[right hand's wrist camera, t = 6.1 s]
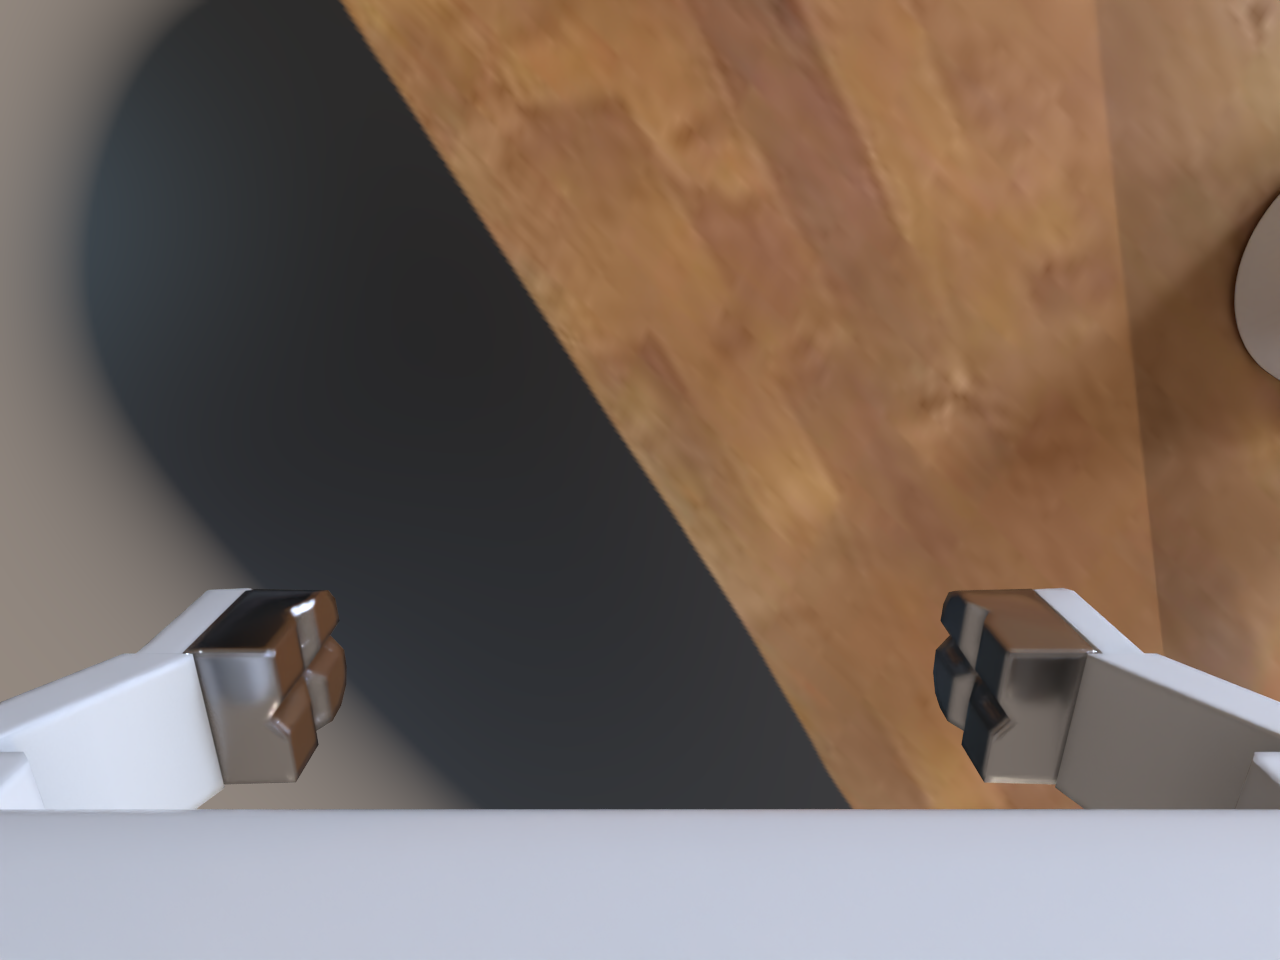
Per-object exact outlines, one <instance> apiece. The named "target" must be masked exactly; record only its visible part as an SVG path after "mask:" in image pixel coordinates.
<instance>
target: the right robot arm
mask: <svg viewBox="0 0 1280 960" xmlns="http://www.w3.org/2000/svg"><path fill="white" fill-rule="evenodd" d="M1234 304H1235V316H1236V322H1237V326H1238V330H1239V333H1240V336H1241V339H1242V341H1243V343H1244V345H1245V347H1246V349H1247V351H1248V352H1249V353H1250V355H1251V356H1252V358H1253V359H1254V360H1255V361H1256V362H1257V363H1258V364H1259V365H1260V366H1261V367H1262V368H1263V369H1264V370H1265V371H1267V372H1268V373H1269V374H1271V375H1272V376H1274V377H1275V378H1277V379H1278V380H1280V194H1279V195H1278V197H1277V198H1276V199H1275V200H1274V201H1273V203H1272V204H1271V205H1270V207H1269V208H1268V209H1267V211H1266V212H1265V213H1264V215H1263V216H1262V218H1261V219H1260V221H1259V223H1258V224H1257V226H1256V228H1255V230H1254V231H1253V233H1252V235H1251V237H1250V239H1249V242H1248V244H1247V246H1246V248H1245V251H1244V254H1243V256H1242V259H1241V263H1240V266H1239V270H1238V274H1237V279H1236V285H1235V302H1234ZM338 622H339V616H338V611H337V607H336V601H335V598H334V597H333V596H332V595H331V593H330V592H329V591H328V590H275V589H253V590H252V589H250V588H240V589H215V590H207V591H206V592H205V593H204V594H203V595H201V596H200V597H199V598H198V599H197V600H196V601H195V602H194V603H192V604H191V605H190V606H189V607H188V608H187V609H186V610H184V611H183V612H182V613H181V614H180V615H179V616H178V617H177V618H175V619H174V620H173V621H172V622H171V623H170V624H169V625H168V626H166V627H165V628H164V629H163V630H162V631H161V632H160V633H159V634H157V635H156V636H155V637H154V638H153V639H152V640H151V641H150V642H148V643H147V644H146V645H145V646H144V647H143V648H142V649H140V650H139V651H138V652H137V653H136V654H121V655H118V656H116V657H113V658H111V659H108V660H106V661H103V662H101V663H98V664H96V665H93V666H91V667H88V668H86V669H83V670H80V671H78V672H75V673H73V674H70V675H68V676H65V677H63V678H60V679H58V680H55V681H53V682H50V683H48V684H45V685H43V686H40V687H38V688H35V689H32V690H30V691H27V692H25V693H22V694H20V695H17V696H15V697H12V698H10V699H7V700H5V701H2V702H0V960H1280V702H1278V701H1275V700H1273V699H1270V698H1268V697H1265V696H1263V695H1260V694H1258V693H1255V692H1252V691H1250V690H1247V689H1245V688H1242V687H1240V686H1237V685H1235V684H1232V683H1230V682H1227V681H1225V680H1222V679H1220V678H1217V677H1215V676H1212V675H1210V674H1207V673H1205V672H1202V671H1199V670H1197V669H1194V668H1192V667H1189V666H1187V665H1184V664H1182V663H1179V662H1177V661H1174V660H1172V659H1169V658H1167V657H1164V656H1162V655H1159V654H1144V653H1143V652H1142V651H1141V650H1140V649H1138V648H1137V647H1136V646H1135V645H1134V644H1133V643H1132V642H1131V641H1129V640H1128V639H1127V638H1126V637H1125V636H1124V635H1123V634H1122V633H1120V632H1119V631H1118V630H1117V629H1116V628H1115V627H1114V626H1113V625H1111V624H1110V623H1109V622H1108V621H1107V620H1106V619H1105V618H1104V617H1102V616H1101V615H1100V614H1099V613H1098V612H1097V611H1096V610H1095V609H1093V608H1092V607H1091V606H1090V605H1089V604H1088V603H1087V602H1086V601H1084V600H1083V599H1082V598H1081V597H1080V596H1079V595H1078V594H1077V593H1075V592H1074V591H1072V590H1068V589H1065V588H1054V589H1004V590H962V591H953V592H949V593H948V595H947V597H946V600H945V602H944V604H943V610H942V616H941V622H942V624H943V625H944V627H945V628H946V630H947V631H948V633H949V635H950V636H949V637H948V638H947V639H946V640H945V641H944V642H943V643H942V644H941V645H940V646H939V647H938V648H937V649H936V654H935V662H934V670H933V675H934V685H935V694H936V697H937V700H938V703H939V706H940V708H941V710H942V712H943V714H944V715H945V717H946V719H947V721H949V722H950V723H952V724H953V725H955V726H957V727H958V728H960V729H962V730H963V731H964V733H963V739H962V746H963V748H964V749H965V751H966V753H967V754H968V756H969V758H970V759H971V761H972V763H973V764H974V766H975V768H976V769H977V771H978V773H979V774H980V776H981V778H982V779H983V781H984V782H989V783H1026V784H1056V786H1055V788H1057V789H1058V790H1060V791H1061V792H1062V793H1064V794H1065V795H1066V796H1068V797H1069V798H1070V799H1072V800H1073V801H1074V802H1076V803H1077V804H1078V805H1080V806H1081V807H1083V808H1084V809H196V808H198V807H199V806H200V805H202V804H203V803H204V802H206V801H207V800H209V799H210V798H211V797H213V796H214V795H215V794H217V793H218V792H219V791H221V790H222V789H223V788H224V784H253V783H288V782H296V781H297V779H298V778H299V776H300V774H301V773H302V771H303V769H304V768H305V766H306V764H307V763H308V761H309V759H310V758H311V756H312V754H313V753H314V751H315V749H316V748H317V746H318V739H317V733H316V731H317V730H318V729H320V728H322V727H323V726H325V725H326V724H328V723H330V722H331V721H333V719H334V717H335V715H336V714H337V712H338V710H339V708H340V706H341V703H342V699H343V695H344V691H345V687H346V660H345V653H344V649H343V648H342V647H341V646H340V645H339V644H338V643H337V642H336V641H335V640H334V639H333V638H332V637H331V636H330V635H331V633H332V631H333V630H334V628H335V627H336V625H337V624H338Z"/></svg>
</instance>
